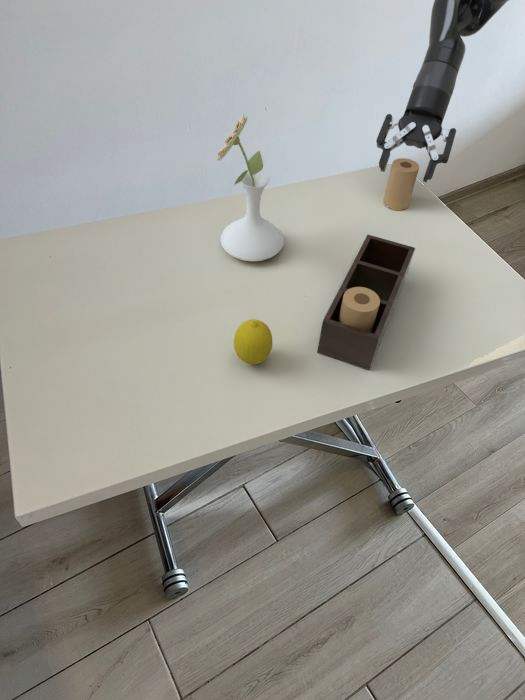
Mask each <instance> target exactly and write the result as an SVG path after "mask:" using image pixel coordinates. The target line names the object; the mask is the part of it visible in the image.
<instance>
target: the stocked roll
mask: <svg viewBox="0 0 525 700" xmlns="http://www.w3.org/2000/svg"><path fill="white" fill-rule="evenodd" d="M379 305H380V298H379V296H378V295H377V294H376V293H375V292H374V291H372V290H370V289H368V288H365V287H353V288H350V289H348V290H347V291H346V292H345V293H344V296H343V300H342V305H341V310H340V315H339V320H338V322H340V323H343V324H346V325H349V326H352V327H355V328H358V329H361V330H364V331H367V332H370V333H372V330H373V326H374V323H375V319H376V316H377V312H378V309H379Z"/></svg>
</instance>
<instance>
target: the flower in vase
mask: <svg viewBox="0 0 525 700" xmlns="http://www.w3.org/2000/svg"><path fill="white" fill-rule="evenodd" d="M248 118H249V115H247V114H244V113H243V114H242V116H241V118H240V120H237V121H236V123H235V125H234V127H233V128H234V129H233V132H232V133H231V134H230V135H229V136H227V137H226V138H225V140H224V146H222V147H221V148H220V150H218V152H217V154H216V161H218V162H220V161H222V159H224V158H225V156H226V155H227V154H228V153H229V151H230V150H231V149H232V148H233V146H238V147H239V148H240V151H241V153H242V155H243V157H244V160H245V163H246V166H247V169H246V170H244V171H243V172H242V173H241V174H239V176H238V177H237V178H236V180H235V181H234V184H233V186H235V185H237V184H239V183H240V185H241V186H242V188H243V189H244V192H245V198H246V212H245V215H244V216H243V217H241V218H238V219H236V220H234V221H233V222H231V223H230V224H228V225H227V226H226V227H225V228H224V230H223V231H222V233H221V235H220V244H221V247H222V248H223V249H224V251H225V252H227V254H229V255H230V256H231V257H233V258H235V259H237V260H241V261H245V262H262V261H265V260H269V259H271V258H273V257H275V256H276V255H277V254H278V253H280V251H281V250H282V249H283V247H284V244H285V238H284V236H283V233H282V232H281V230H280V229H279V228H278V227H277V226H276V225H275V224H274V223H273V222H271V221H269V220H268V219H266V218H264V217H262V215H261V200H262V194H263V191H264V189H265V188H266V187H267V186H268V185H269V183H270V177H269V176H268V175H267V174H265V173H264V172H262V170H263V169H264V161H263V157H262V153H261V151H260V150H257V151H256V152H255V153H254V154H253V155H252V156H251V157H249V159H248V157H247V154H246V151H245V150H244V147H243V145H242V143H241V139H240V135H241V133H242V131H243V130H244V128H245V126H246V124H247V121H248Z"/></svg>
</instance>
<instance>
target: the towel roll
mask: <svg viewBox="0 0 525 700" xmlns="http://www.w3.org/2000/svg"><path fill="white" fill-rule="evenodd" d="M419 170H420V164H419V163H418V162H416V161H415V160H413V159H410V158H405V157H400V158H396V159H394V160H393V161H392V163H391V167H390V171H389V174H388V179H387V183H386V188H385V191H384V195H383V200H382V202H383V201H384V204H385V205H386V206H388V207H390V208H392V209H396V210H395V211H397V210H400V211H404V210H403V209H405V210H407V209H408V208H409V205H410V202H411V199H412V195H413V193H414V192H413V191H414V188H415V186H416V185H415V184H416V182H417V181H416V180H417V177H418V174H419ZM384 204H383V205H384ZM385 205H384V206H385ZM386 206H385V207H386ZM407 207H408V208H407ZM406 208H407V209H406ZM392 209H391V210H392Z"/></svg>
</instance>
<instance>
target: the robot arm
mask: <svg viewBox="0 0 525 700" xmlns="http://www.w3.org/2000/svg"><path fill="white" fill-rule="evenodd" d="M509 1H510V0H433V4H432V8H431V13H430V14H431V15H430V25H429V35H428V46H427V50H426V52H425V56H424V59H423V61H422V64H421V67H420V69H419V71H418V73H417V75H416V78H415V81H414V82H413V85H412V89H411V92H410V95H409V98H408V101H407V103H406V107H405V110H404V113H403V115H402V116H401V118H397V117H394V116H393V115H392V114H391V113H387V114H386V115H385V117H384V119H383V122H382V125H381V128H380V130H379V132H378V135H377V137H376V141H375V142H376V147H377V148H378V149H380V150H382V152H381V155H380V159H379V161H378V167H379V169H380V172H383V173H385V172H386V168H387V165H388V163H389V160H390V157H391V152H392V151H394V150H395V149H396V148H399V147H400V146H401V145H403V144H405V145H406V146H408V147H415V148H417V149H420V150H421V149H424V148H425V150H426V152H427V155H428V157H429V159H430V160H429V161H428V165H427V167H426V170H425V173H424V176H423V179H422V182H424V183H428V180H429V181H431V180H432V179H433V176H434V173H435V171H436V167H437V166H438V165H439V164H447V163H448V162H449V159H450V156H451V152H452V148H453V145H454V141H455V138H456V134H457V129H456V128H455V127H451V128H450V129H448V128H447V129H446V128H443V126H442V125H443V122H444V119H445V116H446V114H447V110H448V107H449V105H450V101H451V99H452V96H453V94H454V90H455V88H456V83H457V78H458V75H459V72H460V70H461V66H462V63H463V60H464V57H465V54H466V44H465V42H464V39H463V38H468V37H471V36H473V35H475V34H477V33H478V32H480V31H481V30H482V29H483V28H484V27H485V25H486V24H487V23H488V22H489V21H490V20H491V19H492V18H493V17H494V16H495V15H496V14H497V13H498V12H499V11H500V10H501V9H502V7H504V5H505V4H506V3H507V2H509ZM396 126H397V127H398V132H397V133H396V134H395V135H393V136H392V138H391V139H389V140H388V141H386V139H387V136H388V134H389V132H390V130H393V129H394V128H395V127H396ZM441 136H442V141H443V142H444V143H445V145H444V148H443V153H440V154H439V153H438V150H437V148H436V143H435V141H436V140H437V139H438V138H439V137H441Z"/></svg>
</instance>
